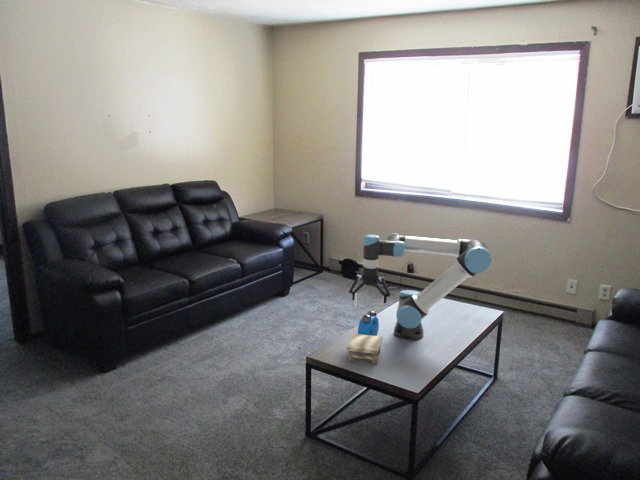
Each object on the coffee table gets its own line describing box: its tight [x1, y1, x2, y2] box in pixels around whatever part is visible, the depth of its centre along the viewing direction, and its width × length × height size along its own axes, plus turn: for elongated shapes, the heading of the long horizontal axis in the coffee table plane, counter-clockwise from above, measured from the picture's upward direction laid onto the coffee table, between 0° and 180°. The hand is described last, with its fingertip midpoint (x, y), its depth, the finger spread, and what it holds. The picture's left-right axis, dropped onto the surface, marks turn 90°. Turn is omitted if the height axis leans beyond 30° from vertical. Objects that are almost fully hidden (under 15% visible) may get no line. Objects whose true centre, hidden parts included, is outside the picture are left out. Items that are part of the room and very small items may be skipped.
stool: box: [346, 333, 383, 366], centre depth 251 cm, size 14×16×8 cm
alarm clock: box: [357, 310, 380, 336], centre depth 267 cm, size 13×6×15 cm, turn 151°
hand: (369, 307), depth 265 cm, fingers open, 13 cm apart
